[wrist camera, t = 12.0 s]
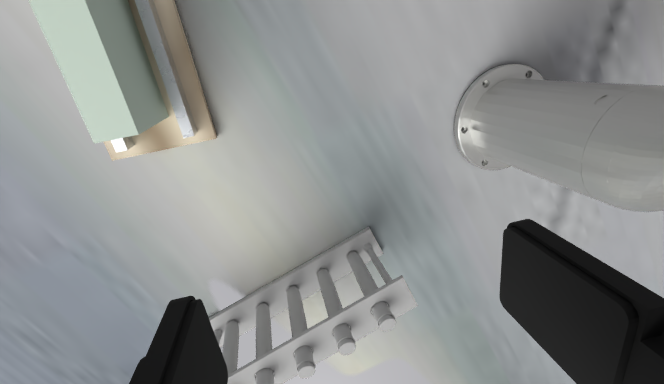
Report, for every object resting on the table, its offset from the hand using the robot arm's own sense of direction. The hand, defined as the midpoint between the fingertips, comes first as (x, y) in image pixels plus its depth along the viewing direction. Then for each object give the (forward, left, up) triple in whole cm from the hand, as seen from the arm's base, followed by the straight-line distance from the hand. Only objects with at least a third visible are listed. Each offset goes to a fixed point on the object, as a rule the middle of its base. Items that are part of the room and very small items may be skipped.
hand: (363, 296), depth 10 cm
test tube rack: (+4, +20, -28) cm, 35 cm away
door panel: (+12, -10, -27) cm, 31 cm away
